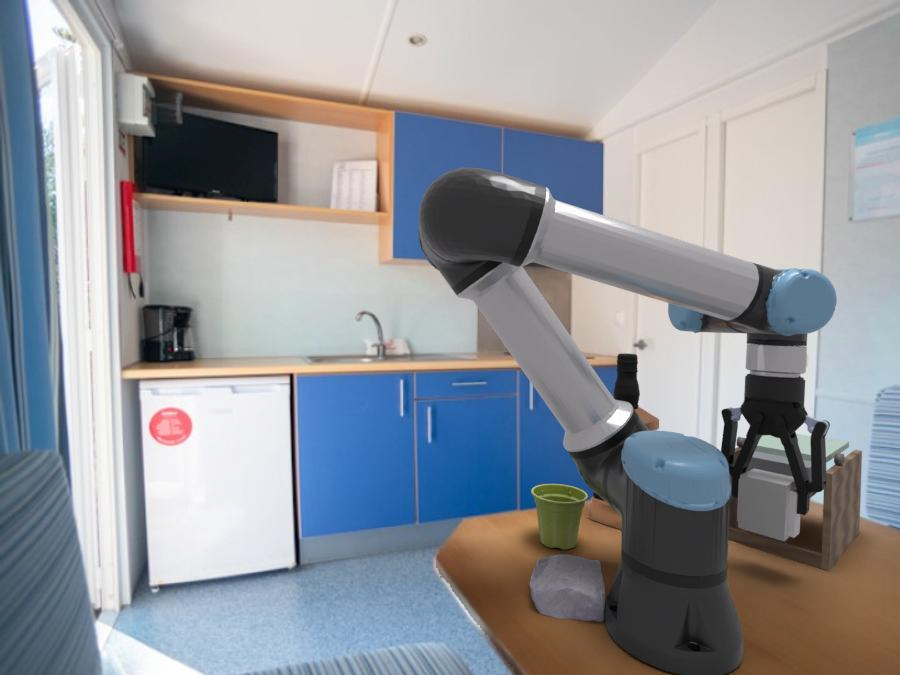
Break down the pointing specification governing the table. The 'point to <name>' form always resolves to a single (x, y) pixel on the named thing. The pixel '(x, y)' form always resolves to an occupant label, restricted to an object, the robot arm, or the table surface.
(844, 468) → the trapdoor stand
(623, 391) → the whiskey bottle
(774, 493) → the grey stone block
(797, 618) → the table surface
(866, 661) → the table surface
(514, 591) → the table surface
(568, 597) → the stone block
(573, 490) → the plant pot
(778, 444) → the trapdoor
